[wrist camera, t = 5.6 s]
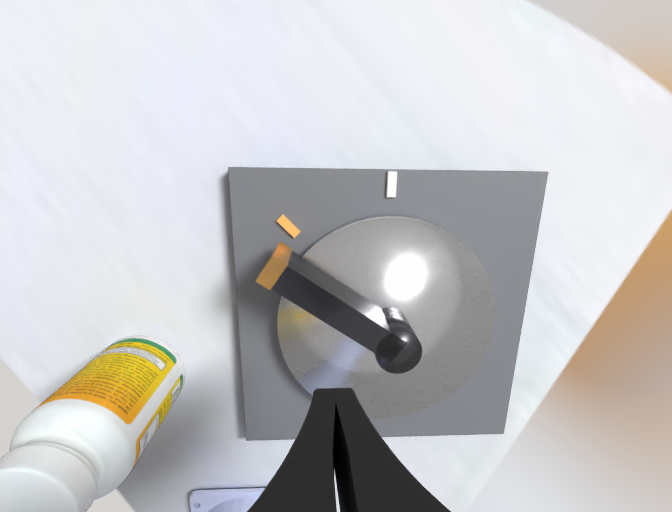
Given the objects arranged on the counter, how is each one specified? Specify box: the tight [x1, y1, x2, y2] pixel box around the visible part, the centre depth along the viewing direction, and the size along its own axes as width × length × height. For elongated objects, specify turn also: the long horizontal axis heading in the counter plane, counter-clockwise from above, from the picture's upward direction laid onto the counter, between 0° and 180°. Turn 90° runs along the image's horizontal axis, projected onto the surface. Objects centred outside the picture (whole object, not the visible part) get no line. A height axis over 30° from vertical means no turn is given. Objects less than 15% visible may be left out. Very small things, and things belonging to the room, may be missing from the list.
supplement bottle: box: [0, 335, 185, 512], centre depth 18 cm, size 5×5×10 cm
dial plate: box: [228, 167, 548, 441], centre depth 21 cm, size 18×18×1 cm
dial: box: [256, 215, 495, 418], centre depth 19 cm, size 14×13×4 cm
